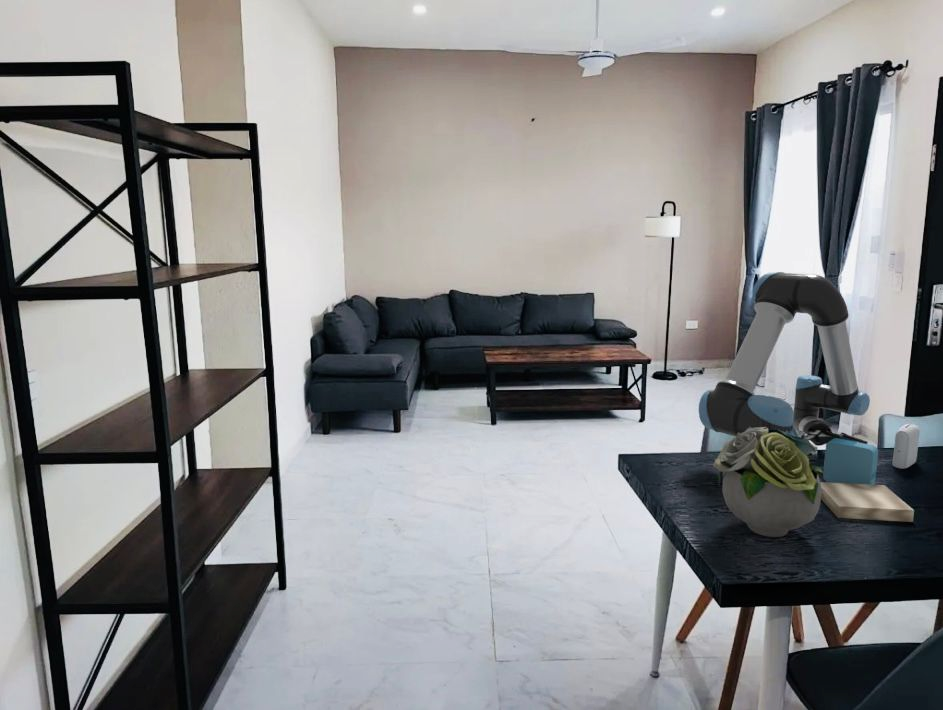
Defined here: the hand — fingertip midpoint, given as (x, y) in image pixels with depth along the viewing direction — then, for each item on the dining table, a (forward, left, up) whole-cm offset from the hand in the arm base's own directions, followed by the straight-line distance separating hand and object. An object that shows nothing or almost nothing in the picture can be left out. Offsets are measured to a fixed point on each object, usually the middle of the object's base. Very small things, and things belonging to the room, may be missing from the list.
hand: (840, 452), depth 196 cm
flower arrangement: (-31, -43, -7) cm, 53 cm away
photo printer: (+22, +11, -7) cm, 26 cm away
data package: (-1, -9, -7) cm, 11 cm away
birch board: (-3, -24, -6) cm, 25 cm away
